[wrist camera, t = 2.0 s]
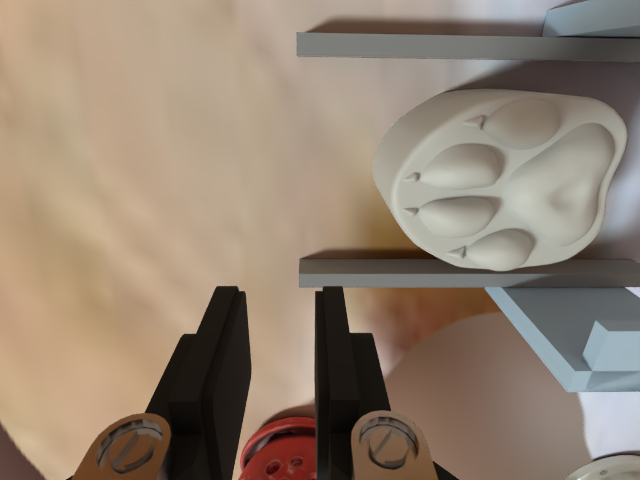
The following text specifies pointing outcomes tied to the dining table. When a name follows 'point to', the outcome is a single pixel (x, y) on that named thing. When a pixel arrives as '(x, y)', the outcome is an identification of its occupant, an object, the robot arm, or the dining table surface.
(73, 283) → the dining table surface
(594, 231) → the lumpy-topped squat cylinder
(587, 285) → the grey long bars
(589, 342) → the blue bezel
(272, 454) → the plant pot
